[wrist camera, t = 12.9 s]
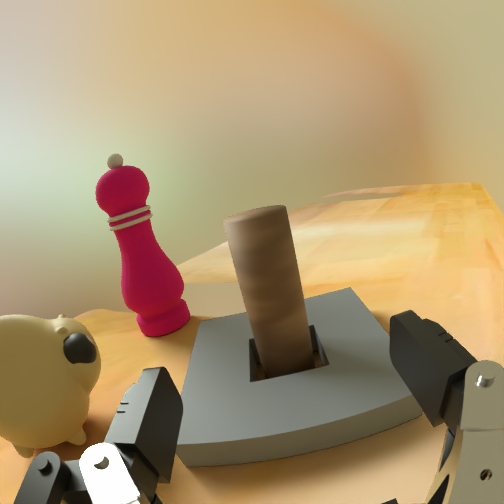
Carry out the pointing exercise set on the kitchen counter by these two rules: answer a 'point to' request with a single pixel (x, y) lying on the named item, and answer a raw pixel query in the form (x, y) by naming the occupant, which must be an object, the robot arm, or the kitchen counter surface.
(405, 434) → the kitchen counter surface
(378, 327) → the socket
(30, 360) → the beige animal figure
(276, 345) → the pin
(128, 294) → the pepper mill
